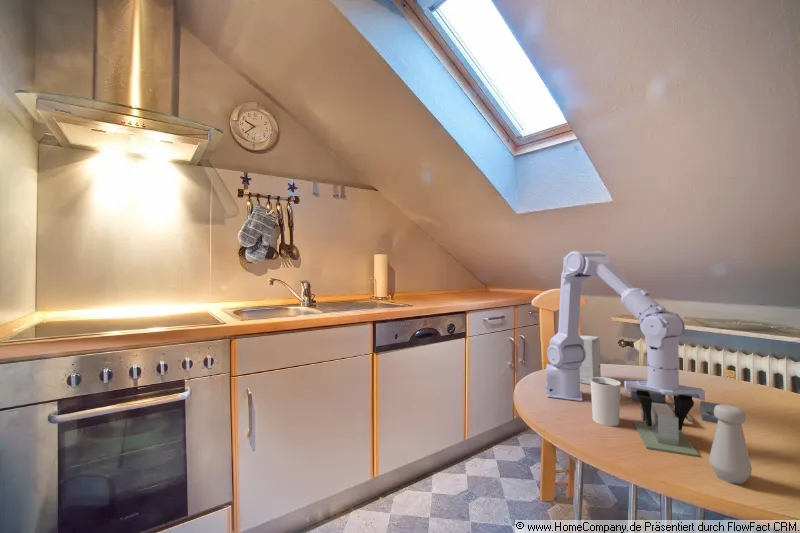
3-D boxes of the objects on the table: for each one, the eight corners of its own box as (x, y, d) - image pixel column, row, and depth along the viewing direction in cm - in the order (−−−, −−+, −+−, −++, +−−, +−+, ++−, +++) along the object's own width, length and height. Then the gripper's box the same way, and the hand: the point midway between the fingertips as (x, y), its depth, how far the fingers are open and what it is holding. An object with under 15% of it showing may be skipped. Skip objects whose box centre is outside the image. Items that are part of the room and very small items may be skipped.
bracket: (720, 411, 95) (720, 403, 95) (724, 426, 86) (724, 418, 86) (700, 408, 97) (700, 400, 97) (701, 422, 89) (701, 413, 89)
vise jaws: (643, 420, 89) (643, 406, 89) (630, 398, 104) (630, 386, 104) (693, 427, 85) (692, 412, 85) (672, 403, 100) (672, 390, 100)
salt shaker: (700, 469, 68) (699, 401, 68) (728, 467, 68) (727, 400, 68) (731, 488, 62) (731, 414, 62) (761, 486, 62) (760, 412, 62)
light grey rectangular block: (658, 442, 77) (658, 415, 77) (649, 427, 84) (648, 402, 84) (678, 446, 76) (678, 417, 76) (667, 429, 83) (667, 404, 83)
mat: (646, 448, 76) (646, 446, 76) (633, 423, 88) (633, 421, 88) (699, 457, 72) (699, 455, 72) (678, 429, 84) (678, 427, 84)
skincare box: (593, 386, 114) (593, 340, 114) (573, 382, 119) (573, 337, 119) (601, 379, 120) (600, 336, 120) (582, 376, 125) (581, 333, 125)
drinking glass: (624, 428, 85) (623, 387, 85) (593, 424, 87) (592, 384, 87) (617, 417, 91) (617, 378, 91) (588, 413, 93) (588, 376, 93)
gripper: (628, 367, 79) (628, 428, 79) (710, 374, 73) (711, 440, 73) (622, 359, 85) (623, 416, 85) (697, 365, 80) (698, 426, 80)
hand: (663, 426), depth 80 cm, fingers open, 5 cm apart
